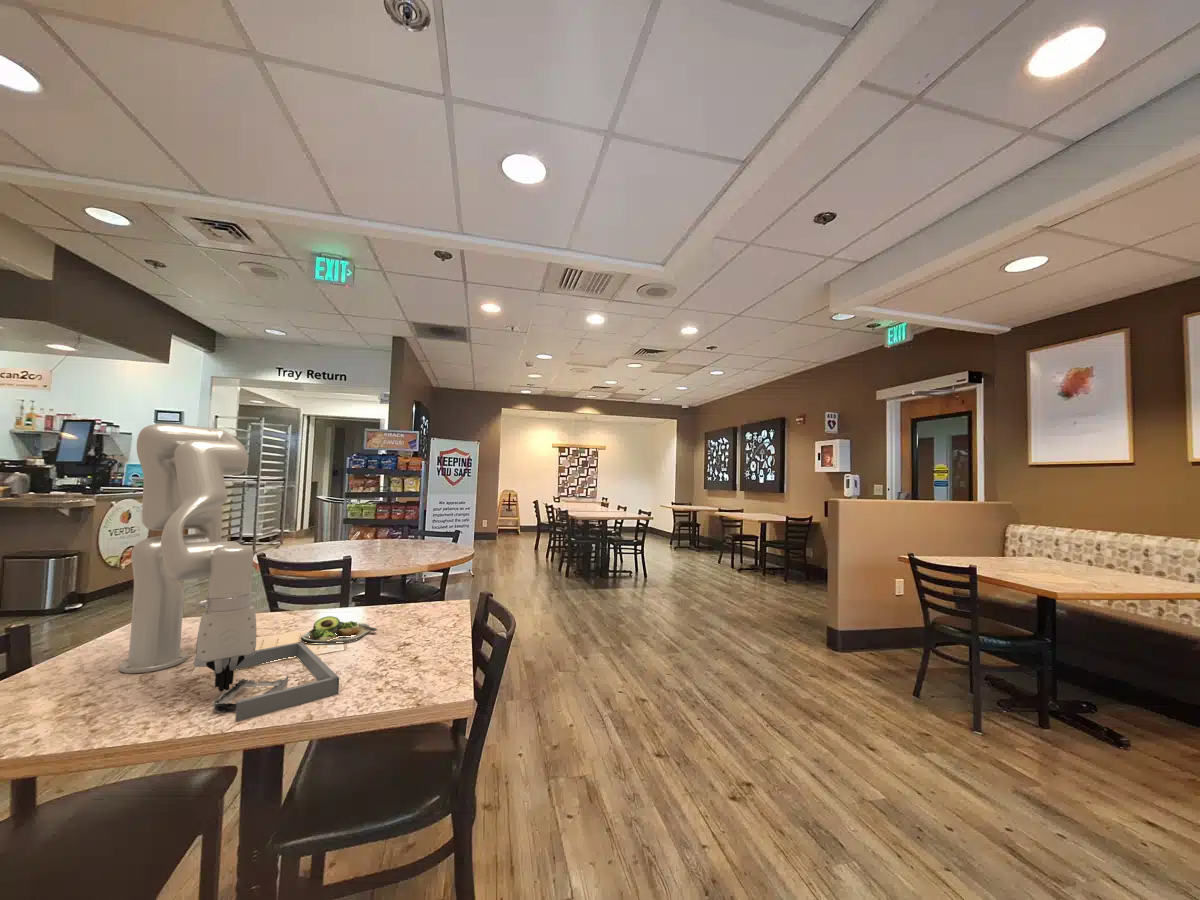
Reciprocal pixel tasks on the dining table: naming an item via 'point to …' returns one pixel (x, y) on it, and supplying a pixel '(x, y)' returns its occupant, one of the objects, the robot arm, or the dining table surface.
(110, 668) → the dining table surface
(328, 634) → the salad plate
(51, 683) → the dining table surface
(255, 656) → the box
